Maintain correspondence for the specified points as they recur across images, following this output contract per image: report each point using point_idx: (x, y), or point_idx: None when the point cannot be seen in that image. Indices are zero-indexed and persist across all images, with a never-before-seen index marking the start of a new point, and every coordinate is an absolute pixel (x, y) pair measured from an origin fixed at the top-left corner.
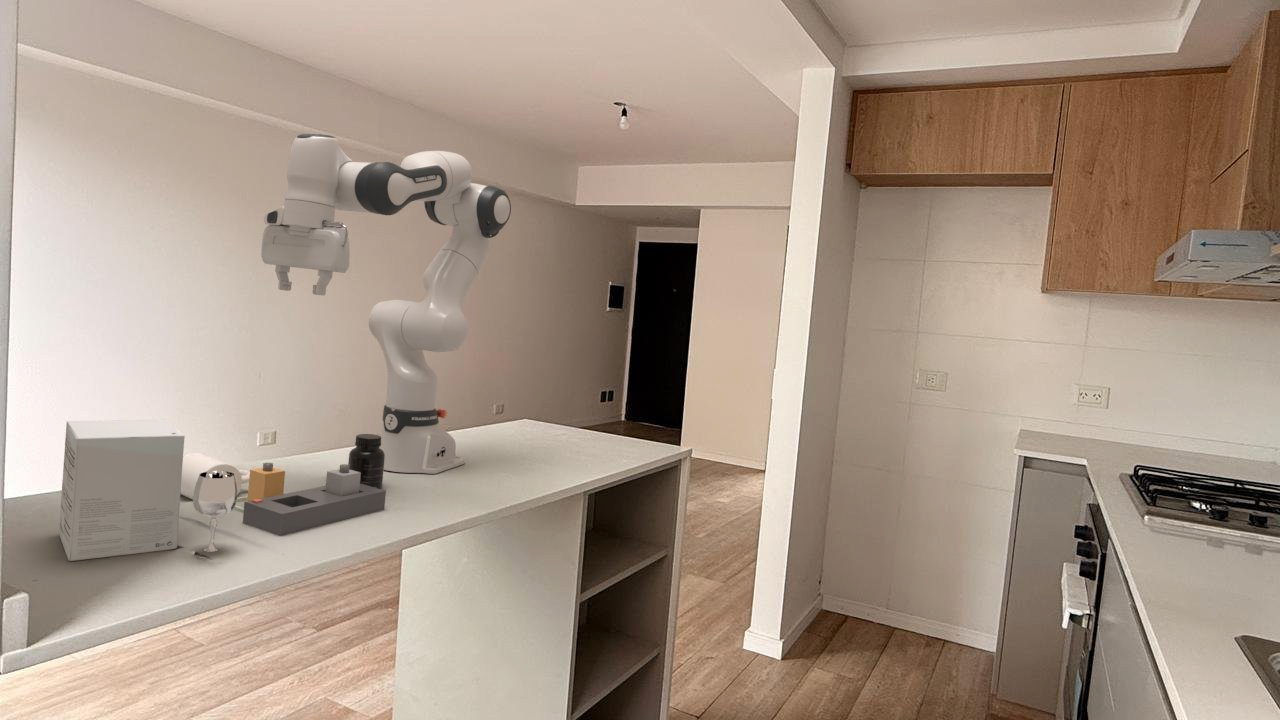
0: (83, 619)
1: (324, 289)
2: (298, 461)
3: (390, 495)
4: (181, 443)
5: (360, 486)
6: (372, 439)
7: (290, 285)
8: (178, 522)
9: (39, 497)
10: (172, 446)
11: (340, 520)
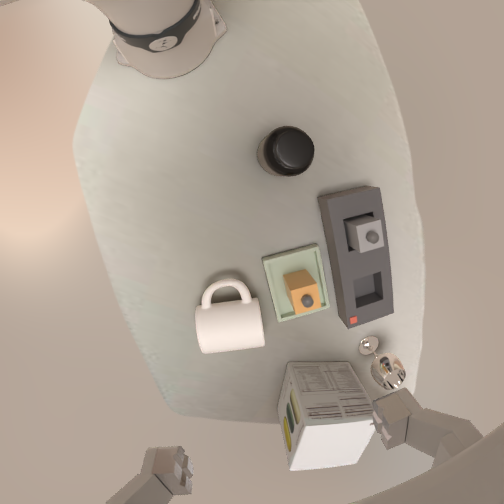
0: None
1: (415, 405)
2: (94, 158)
3: None
4: None
5: (353, 203)
6: (313, 153)
7: (176, 462)
8: (354, 372)
9: (174, 404)
10: None
11: None
